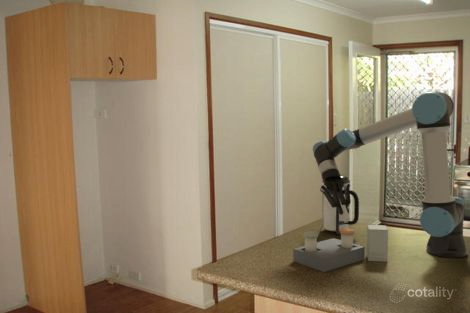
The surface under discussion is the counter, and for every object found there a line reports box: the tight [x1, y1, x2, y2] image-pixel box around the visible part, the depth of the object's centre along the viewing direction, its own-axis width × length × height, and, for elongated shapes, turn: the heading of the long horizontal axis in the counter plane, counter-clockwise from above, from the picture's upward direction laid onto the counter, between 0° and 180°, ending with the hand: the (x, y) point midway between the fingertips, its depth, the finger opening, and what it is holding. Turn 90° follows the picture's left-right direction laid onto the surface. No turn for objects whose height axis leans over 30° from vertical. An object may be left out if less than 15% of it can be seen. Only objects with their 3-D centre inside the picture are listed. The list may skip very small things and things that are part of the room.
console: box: [292, 237, 366, 273], centre depth 186 cm, size 16×23×5 cm
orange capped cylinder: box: [339, 227, 355, 249], centre depth 187 cm, size 6×6×10 cm
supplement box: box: [366, 224, 389, 263], centre depth 186 cm, size 7×7×13 cm
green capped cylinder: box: [302, 230, 319, 253], centre depth 183 cm, size 6×6×10 cm
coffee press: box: [319, 173, 360, 236], centre depth 225 cm, size 17×16×30 cm
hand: (347, 220), depth 186 cm, fingers closed
